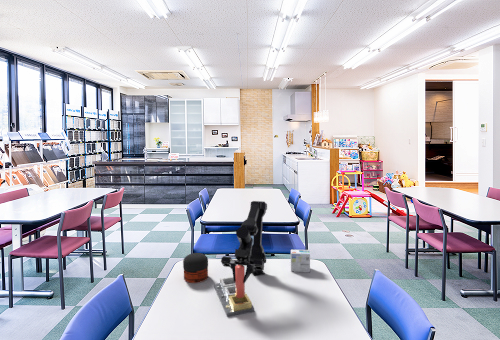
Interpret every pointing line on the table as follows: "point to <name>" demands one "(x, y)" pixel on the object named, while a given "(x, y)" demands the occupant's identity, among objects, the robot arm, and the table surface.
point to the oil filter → (195, 267)
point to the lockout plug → (239, 281)
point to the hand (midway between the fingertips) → (239, 282)
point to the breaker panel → (232, 298)
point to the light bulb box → (300, 260)
